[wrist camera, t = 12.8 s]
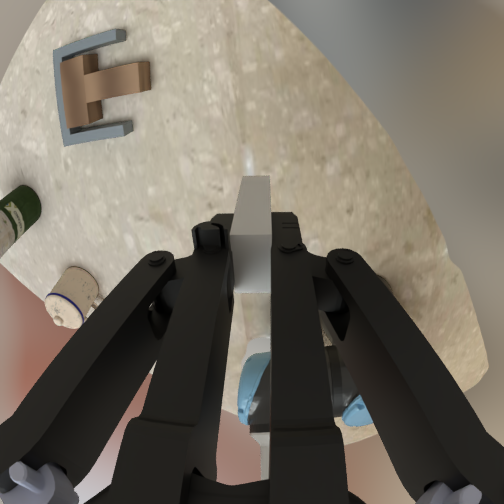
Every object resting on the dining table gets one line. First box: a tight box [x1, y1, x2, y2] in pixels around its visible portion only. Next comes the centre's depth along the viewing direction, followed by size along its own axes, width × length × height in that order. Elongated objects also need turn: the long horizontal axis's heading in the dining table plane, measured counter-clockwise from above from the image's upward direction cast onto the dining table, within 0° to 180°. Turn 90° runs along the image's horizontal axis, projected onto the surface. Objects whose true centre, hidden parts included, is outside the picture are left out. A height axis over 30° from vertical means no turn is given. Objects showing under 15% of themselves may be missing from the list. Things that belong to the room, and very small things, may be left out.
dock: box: [53, 29, 133, 147], centre depth 31 cm, size 11×15×3 cm
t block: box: [60, 54, 151, 129], centre depth 30 cm, size 12×10×4 cm
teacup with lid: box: [45, 267, 98, 329], centre depth 49 cm, size 12×9×12 cm
